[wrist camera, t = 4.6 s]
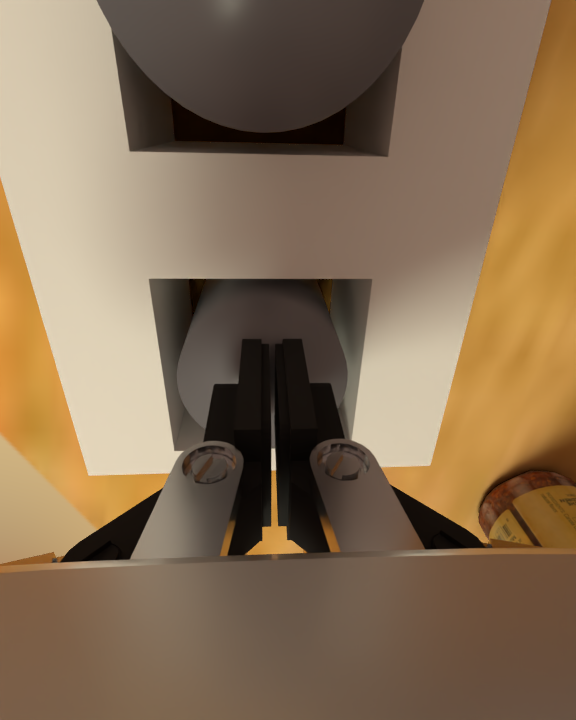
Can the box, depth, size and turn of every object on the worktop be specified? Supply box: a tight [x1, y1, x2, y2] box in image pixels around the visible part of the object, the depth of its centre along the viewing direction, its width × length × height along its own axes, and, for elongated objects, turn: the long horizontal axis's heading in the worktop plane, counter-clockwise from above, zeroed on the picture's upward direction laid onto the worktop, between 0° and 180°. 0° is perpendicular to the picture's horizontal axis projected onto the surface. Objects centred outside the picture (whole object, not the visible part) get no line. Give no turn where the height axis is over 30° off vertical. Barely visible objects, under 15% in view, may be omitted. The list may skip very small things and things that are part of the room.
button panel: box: [0, 0, 551, 476], centre depth 11 cm, size 12×26×6 cm, turn 179°
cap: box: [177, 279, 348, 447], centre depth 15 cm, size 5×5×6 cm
